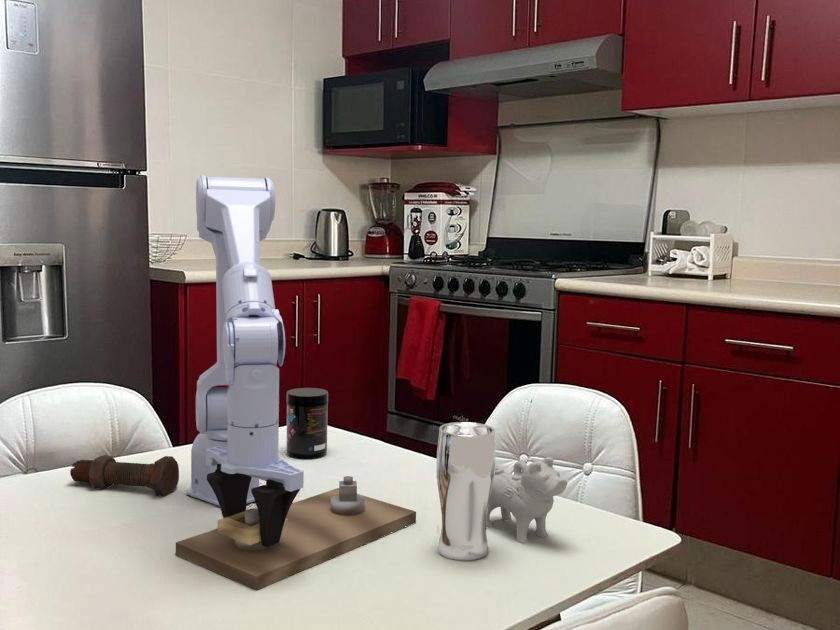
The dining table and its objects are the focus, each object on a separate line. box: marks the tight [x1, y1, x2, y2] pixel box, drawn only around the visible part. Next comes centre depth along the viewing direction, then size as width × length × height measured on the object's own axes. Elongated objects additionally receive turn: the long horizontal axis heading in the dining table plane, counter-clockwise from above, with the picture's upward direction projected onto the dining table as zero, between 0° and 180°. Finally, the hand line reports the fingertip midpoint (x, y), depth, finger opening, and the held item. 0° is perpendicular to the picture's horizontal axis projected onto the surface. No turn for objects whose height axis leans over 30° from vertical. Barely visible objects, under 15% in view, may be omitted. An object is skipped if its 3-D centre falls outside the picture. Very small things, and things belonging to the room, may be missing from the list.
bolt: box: [69, 454, 180, 497], centre depth 123 cm, size 6×5×15 cm
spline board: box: [175, 475, 417, 591], centre depth 106 cm, size 27×14×6 cm, turn 142°
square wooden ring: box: [217, 507, 288, 545], centre depth 100 cm, size 6×6×2 cm
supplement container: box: [286, 387, 329, 460], centre depth 142 cm, size 7×7×10 cm
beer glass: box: [436, 421, 497, 562], centre depth 103 cm, size 7×7×15 cm
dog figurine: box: [486, 456, 568, 545], centre depth 109 cm, size 5×13×11 cm, turn 40°
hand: (252, 537), depth 100 cm, fingers closed on square wooden ring, 6 cm apart
